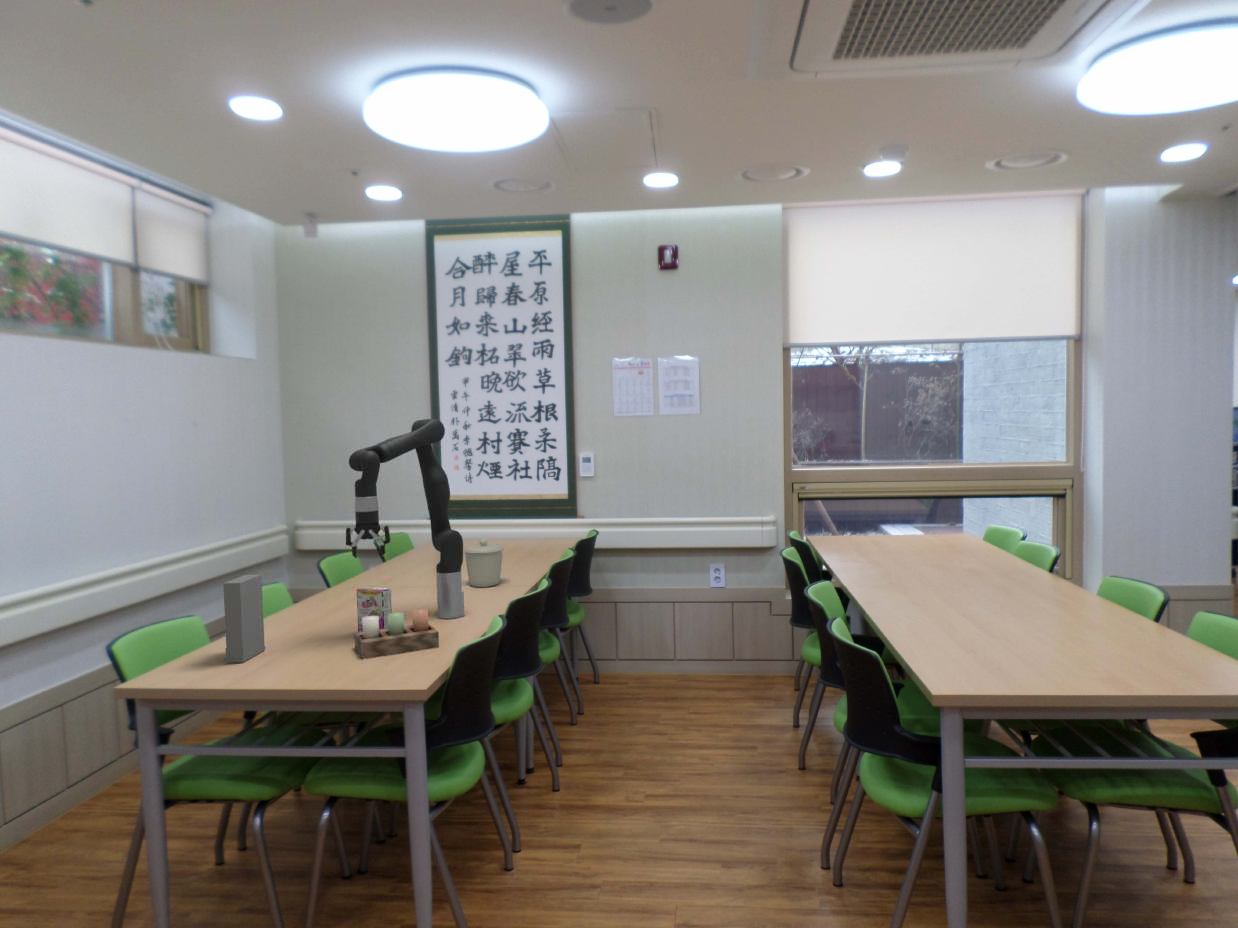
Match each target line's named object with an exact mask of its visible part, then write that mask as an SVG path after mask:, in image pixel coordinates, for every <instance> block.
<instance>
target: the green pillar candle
mask: <svg viewBox="0 0 1238 928" xmlns="http://www.w3.org/2000/svg"><path fill="white" fill-rule="evenodd" d="M404 616H405V615H404V612H399V611H398V612H397V611H396V612H392V613H390V614H388V636H392V635H399V634H404V626H405V618H404Z"/></svg>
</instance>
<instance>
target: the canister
mask: <svg viewBox="0 0 1238 928" xmlns="http://www.w3.org/2000/svg"><path fill="white" fill-rule="evenodd" d="M504 549H505V548H504V547H503V546H501V545H499V544H493V543H488V540H487V539H485V538H483V539H480V540H479V543H478V544H475V545H474V544H473V545H469V546H466V548H463V553H464V556H465V557H464V558H465V562H466V563H465V564H466V569H467V576H468V577H467V578H468V581H469V584H470V585H471V587H475V588H489V587H490V586H491V587H494V586H497V585H499V583H500V581H501V575H502V574H501V572H502V562H503V561H502V560H503V552H504Z"/></svg>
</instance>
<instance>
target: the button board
mask: <svg viewBox="0 0 1238 928" xmlns="http://www.w3.org/2000/svg"><path fill="white" fill-rule="evenodd" d="M428 625H429V630H427V631H420V632H413V624H408V625H404V634H399V635H392V636H388V628H386V629H379V637H378V638H371V639H364V640H363V632H358V631H357V632H354V633H353V635H354V649H355V650H356V651H358V652H357V653H358V654H359V656H360V657H361V658H362V659H364V658H365V659H371V658H377V656H378V657H383V655H384V656H388V654H390V655H395V653H397V654H402V653H401V652H403V653H407V652H406V651H410V652H415V651H414V650H416V651H421V650H422V649H423V650H427V649H434V648H439V647H440V641H439V640H440V639H439V637H440V636H439V631H438V630H437V629H436V628H435V627H433V626H432V625H431V624H430V623H428ZM370 657H371V658H370Z"/></svg>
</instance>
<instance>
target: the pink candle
mask: <svg viewBox="0 0 1238 928" xmlns="http://www.w3.org/2000/svg"><path fill="white" fill-rule="evenodd" d="M428 624H429V610H428V609H426V608H420V609H414V610H412V625H413V632H420V631H427V630H429V625H428Z"/></svg>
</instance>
